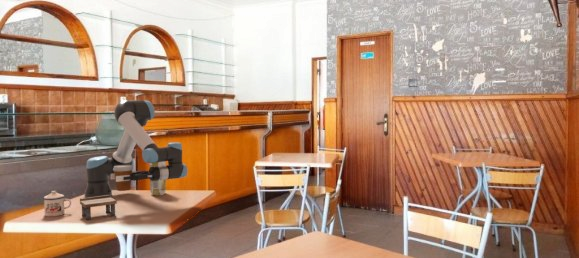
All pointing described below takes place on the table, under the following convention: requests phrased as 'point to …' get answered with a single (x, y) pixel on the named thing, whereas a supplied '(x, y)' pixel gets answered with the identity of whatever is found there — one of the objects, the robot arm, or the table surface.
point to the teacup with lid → (54, 204)
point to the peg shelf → (97, 204)
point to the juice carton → (158, 182)
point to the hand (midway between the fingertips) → (113, 177)
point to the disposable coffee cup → (121, 171)
